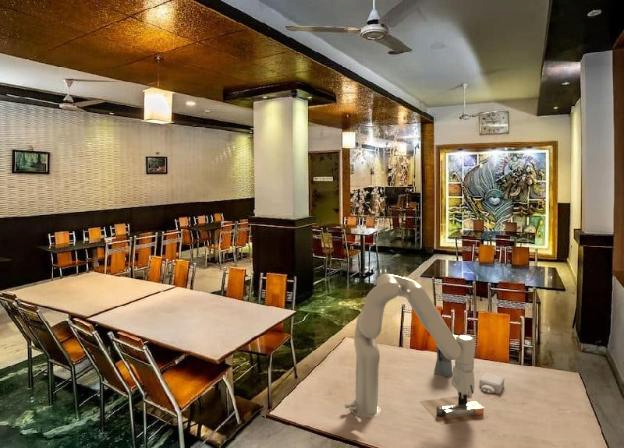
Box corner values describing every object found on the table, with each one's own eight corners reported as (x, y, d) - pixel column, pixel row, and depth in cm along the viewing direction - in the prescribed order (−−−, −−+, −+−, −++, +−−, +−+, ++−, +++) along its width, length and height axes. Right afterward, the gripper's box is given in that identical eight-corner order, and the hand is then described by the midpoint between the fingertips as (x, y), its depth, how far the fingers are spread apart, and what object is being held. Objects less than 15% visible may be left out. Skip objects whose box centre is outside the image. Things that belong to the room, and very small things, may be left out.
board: (441, 427, 167) (441, 424, 166) (419, 404, 184) (419, 401, 184) (488, 420, 172) (488, 417, 172) (462, 397, 189) (463, 395, 189)
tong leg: (438, 417, 171) (438, 410, 171) (434, 413, 174) (435, 406, 174) (480, 411, 175) (480, 405, 175) (475, 407, 178) (476, 401, 178)
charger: (475, 393, 194) (484, 381, 205) (496, 399, 188) (503, 386, 200) (475, 384, 193) (484, 372, 205) (496, 390, 188) (504, 377, 199)
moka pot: (456, 370, 216) (458, 333, 214) (449, 382, 203) (450, 343, 201) (438, 366, 221) (439, 330, 219) (429, 377, 208) (430, 339, 206)
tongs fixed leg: (447, 420, 169) (447, 413, 169) (444, 416, 172) (444, 409, 171) (483, 414, 173) (483, 407, 173) (479, 411, 176) (480, 404, 175)
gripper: (446, 358, 182) (444, 398, 184) (467, 373, 168) (465, 416, 170) (461, 356, 184) (459, 395, 186) (483, 371, 170) (481, 413, 172)
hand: (462, 405), depth 178 cm, fingers closed
